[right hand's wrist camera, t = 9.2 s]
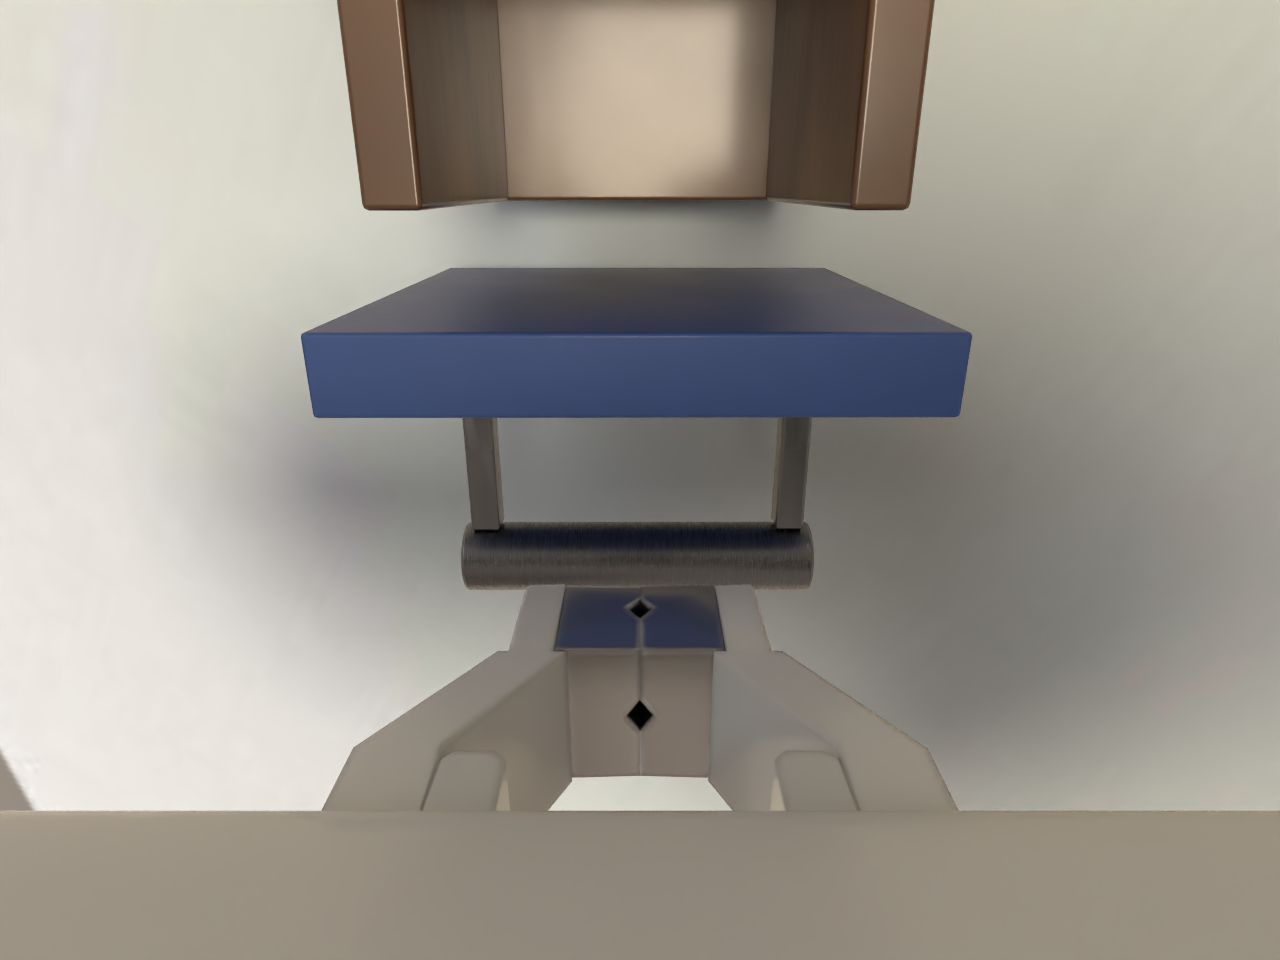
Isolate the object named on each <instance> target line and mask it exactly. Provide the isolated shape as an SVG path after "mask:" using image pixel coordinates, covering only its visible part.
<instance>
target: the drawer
mask: <svg viewBox="0 0 1280 960" xmlns="http://www.w3.org/2000/svg"><path fill="white" fill-rule="evenodd" d="M934 1H935V0H337V4H338V12H339V20H340V28H341V36H342V44H343V52H344V60H345V68H346V76H347V84H348V92H349V101H350V109H351V117H352V125H353V133H354V141H355V149H356V157H357V165H358V173H359V181H360V189H361V197H362V204H363V206H364V208H365V209H367V210H426V209H435V208H444V207H453V206H462V205H471V204H480V203H488V202H497V201H597V200H770V201H779V202H787V203H796V204H805V205H814V206H823V207H832V208H841V209H849V210H904V209H907V208H908V206H909V204H910V200H911V192H912V184H913V175H914V167H915V159H916V150H917V142H918V134H919V126H920V117H921V109H922V101H923V92H924V84H925V76H926V68H927V59H928V51H929V43H930V34H931V26H932V18H933V10H934ZM301 340H302V347H303V353H304V359H305V365H306V371H307V377H308V384H309V390H310V396H311V402H312V408H313V414H314V416H315V417H317V418H463V429H464V440H465V452H466V463H467V474H468V486H469V497H470V508H471V519H472V522H471V523H469V524H468V525H467V526H466V529H465V532H464V535H463V541H462V551H461V567H462V576H463V580H464V584H465V586H466V588H468V589H470V590H526V588H527V587H528V586H530V585H555V584H565V586H566V587H567V585H591V586H640V587H654V586H695V585H714V586H718V585H740V584H750V585H751V586H753V588H754V589H806V588H808V587H809V586H810V584H811V580H812V576H813V567H814V550H813V540H812V535H811V531H810V528H809V526H808V524H807V523H805V522H803V516H804V505H805V493H806V481H807V469H808V457H809V446H810V434H811V422H812V417H957V416H959V414H960V409H961V403H962V397H963V390H964V384H965V378H966V371H967V365H968V359H969V352H970V346H971V340H972V335H971V333H970V332H967V331H965V330H963V329H961V328H958V327H956V326H954V325H952V324H949V323H947V322H945V321H942V320H940V319H938V318H936V317H933V316H931V315H929V314H927V313H924V312H922V311H920V310H918V309H915V308H913V307H911V306H909V305H906V304H904V303H902V302H900V301H897V300H895V299H893V298H891V297H888V296H886V295H884V294H882V293H879V292H877V291H875V290H873V289H870V288H868V287H866V286H863V285H861V284H859V283H857V282H854V281H852V280H850V279H848V278H845V277H843V276H841V275H839V274H836V273H834V272H832V271H830V270H827V269H825V268H450V269H448V270H445V271H443V272H441V273H439V274H436V275H434V276H432V277H430V278H427V279H425V280H423V281H420V282H418V283H416V284H414V285H411V286H409V287H407V288H405V289H402V290H400V291H398V292H395V293H393V294H391V295H389V296H386V297H384V298H382V299H380V300H377V301H375V302H373V303H371V304H368V305H366V306H364V307H361V308H359V309H357V310H355V311H352V312H350V313H348V314H346V315H343V316H341V317H339V318H336V319H334V320H332V321H330V322H327V323H325V324H323V325H321V326H318V327H316V328H314V329H311V330H309V331H307V332H305V333H302V335H301ZM652 417H778V427H777V442H776V457H775V471H774V486H773V501H772V515H771V518H772V521H773V522H503V520H504V512H503V498H502V484H501V470H500V456H499V442H498V428H497V418H652Z"/></svg>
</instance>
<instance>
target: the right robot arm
mask: <svg viewBox="0 0 1280 960" xmlns="http://www.w3.org/2000/svg"><path fill="white" fill-rule="evenodd" d="M608 776H671V777H708V781H709V782H710V783H711V785H712V786H713V787H714V788H715V789H716V791H717V792H718V793H719V794H720V796H721V797H722V798H723V799H724V800H725V802H726V803H727V804H728V805H729V807H730V808H731V809H732V810H733V811H548V810H549V808H550V807H551V806H552V805H553V804H554V802H555V801H556V800H557V799H558V797H559V796H560V795H561V794H562V793H563V791H564V790H565V789H566V788H567V786H568V785H569V784H570V783H571V782H572V777H608ZM0 960H1280V811H958V809H957V807H956V805H955V803H954V801H953V799H952V797H951V795H950V793H949V791H948V789H947V787H946V785H945V783H944V781H943V779H942V777H941V775H940V773H939V771H938V769H937V767H936V765H935V763H934V761H933V759H932V757H931V755H930V753H929V751H928V749H927V748H926V747H924V746H923V745H921V744H920V743H918V742H917V741H915V740H914V739H912V738H911V737H909V736H908V735H906V734H905V733H903V732H902V731H900V730H899V729H897V728H896V727H894V726H893V725H891V724H890V723H888V722H887V721H885V720H884V719H882V718H881V717H879V716H878V715H876V714H875V713H873V712H872V711H870V710H869V709H867V708H866V707H864V706H863V705H862V704H860V703H859V702H857V701H856V700H854V699H853V698H851V697H850V696H848V695H847V694H845V693H844V692H842V691H841V690H839V689H838V688H836V687H835V686H833V685H832V684H830V683H829V682H827V681H826V680H824V679H823V678H821V677H820V676H818V675H817V674H815V673H814V672H812V671H811V670H809V669H808V668H806V667H805V666H803V665H802V664H800V663H799V662H797V661H796V660H794V659H793V658H791V657H790V656H788V655H787V654H785V653H784V652H782V651H771V648H770V644H769V641H768V637H767V634H766V630H765V627H764V623H763V620H762V616H761V613H760V609H759V606H758V602H757V598H756V595H755V591H754V588H753V586H751V585H750V584H740V585H718V586H714V585H695V586H654V587H640V586H591V585H567V587H566V586H565V584H555V585H530V586H528V587H527V588H526V591H525V594H524V598H523V601H522V605H521V608H520V612H519V616H518V619H517V623H516V626H515V630H514V633H513V637H512V641H511V644H510V648H509V651H498V652H496V653H495V654H493V655H492V656H490V657H489V658H487V659H486V660H484V661H483V662H481V663H480V664H478V665H477V666H475V667H474V668H472V669H471V670H469V671H468V672H466V673H465V674H463V675H462V676H460V677H459V678H457V679H456V680H454V681H453V682H451V683H450V684H448V685H447V686H445V687H444V688H442V689H441V690H439V691H438V692H436V693H435V694H433V695H432V696H430V697H429V698H427V699H426V700H424V701H423V702H421V703H420V704H418V705H417V706H415V707H414V708H412V709H411V710H409V711H408V712H406V713H405V714H403V715H402V716H400V717H399V718H397V719H396V720H394V721H393V722H391V723H390V724H388V725H387V726H385V727H384V728H382V729H381V730H379V731H378V732H376V733H375V734H373V735H372V736H370V737H369V738H367V739H366V740H364V741H363V742H361V743H360V744H358V745H357V746H355V747H354V748H353V750H352V752H351V754H350V756H349V757H348V759H347V761H346V763H345V765H344V767H343V769H342V771H341V773H340V775H339V777H338V779H337V781H336V783H335V785H334V787H333V789H332V791H331V793H330V795H329V797H328V799H327V801H326V803H325V805H324V807H323V809H322V811H0Z"/></svg>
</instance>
